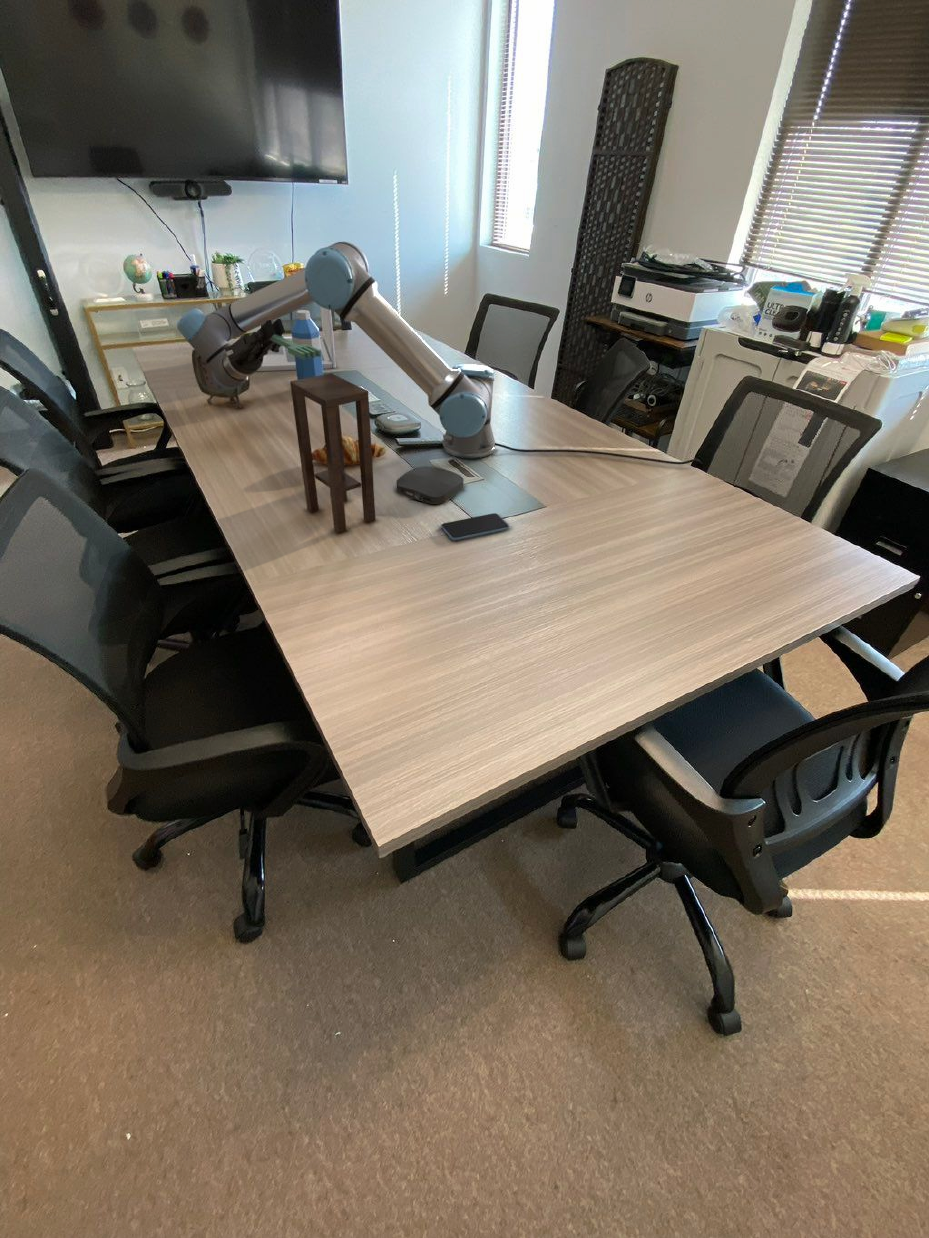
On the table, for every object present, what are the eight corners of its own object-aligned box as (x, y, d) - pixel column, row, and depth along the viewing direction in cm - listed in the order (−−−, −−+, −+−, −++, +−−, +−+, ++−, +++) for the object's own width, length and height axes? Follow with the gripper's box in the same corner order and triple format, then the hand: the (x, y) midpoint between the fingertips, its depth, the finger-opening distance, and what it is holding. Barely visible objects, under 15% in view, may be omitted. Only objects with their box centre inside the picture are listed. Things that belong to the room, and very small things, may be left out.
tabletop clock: (201, 405, 193) (182, 320, 177) (217, 396, 200) (199, 314, 184) (242, 411, 191) (226, 325, 175) (257, 401, 198) (242, 319, 182)
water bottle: (319, 396, 204) (311, 316, 188) (293, 393, 205) (283, 313, 189) (330, 388, 211) (322, 309, 195) (304, 385, 212) (295, 307, 197)
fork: (252, 335, 135) (251, 329, 135) (270, 332, 138) (269, 327, 137) (302, 359, 123) (302, 353, 122) (321, 356, 125) (320, 350, 125)
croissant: (383, 463, 173) (379, 434, 171) (392, 460, 164) (388, 430, 162) (309, 470, 166) (304, 441, 165) (313, 468, 157) (308, 436, 155)
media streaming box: (469, 486, 157) (469, 475, 155) (438, 508, 147) (439, 497, 145) (422, 471, 162) (422, 461, 160) (390, 492, 152) (389, 481, 150)
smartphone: (511, 526, 140) (453, 538, 134) (510, 529, 140) (452, 542, 135) (496, 511, 145) (439, 523, 139) (495, 514, 145) (439, 526, 140)
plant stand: (307, 509, 144) (289, 381, 125) (343, 498, 149) (331, 373, 130) (339, 534, 136) (325, 400, 117) (375, 520, 141) (368, 391, 122)
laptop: (255, 342, 251) (243, 266, 234) (325, 340, 258) (318, 266, 241) (256, 371, 222) (242, 287, 204) (336, 368, 229) (329, 287, 211)
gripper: (276, 370, 154) (312, 339, 135) (221, 380, 146) (251, 349, 127) (265, 339, 152) (300, 304, 133) (208, 348, 144) (237, 311, 125)
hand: (276, 326), depth 130 cm, fingers closed on fork, 2 cm apart
